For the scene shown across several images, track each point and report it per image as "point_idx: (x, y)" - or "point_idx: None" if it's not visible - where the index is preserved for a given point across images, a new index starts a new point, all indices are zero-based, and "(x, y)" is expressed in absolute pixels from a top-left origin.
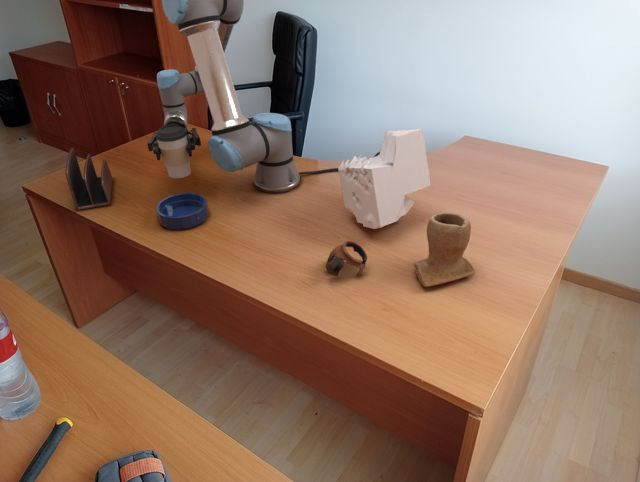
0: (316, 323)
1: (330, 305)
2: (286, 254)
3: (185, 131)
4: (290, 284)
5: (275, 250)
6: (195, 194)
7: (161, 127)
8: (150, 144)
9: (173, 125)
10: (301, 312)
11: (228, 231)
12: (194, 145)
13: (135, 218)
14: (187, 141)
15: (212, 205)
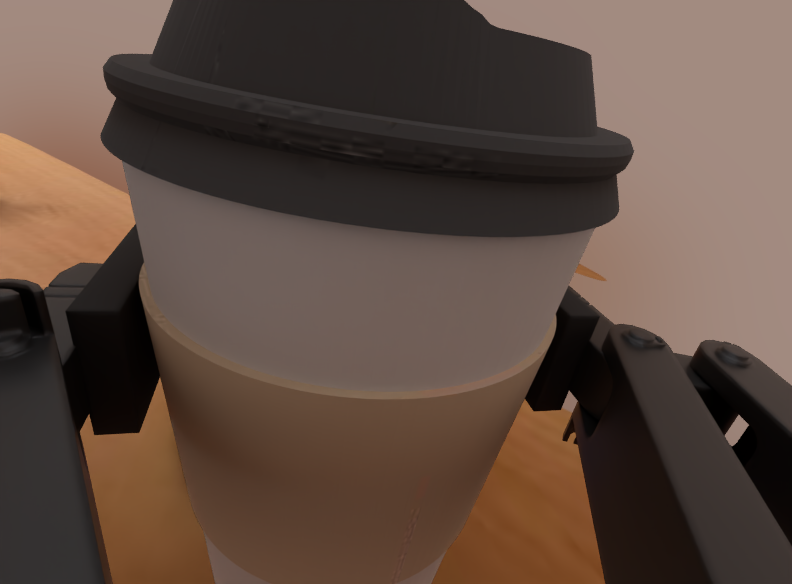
0: (95, 180)
1: (47, 187)
2: (24, 252)
3: (128, 56)
4: (83, 213)
5: (42, 264)
6: None
7: (588, 54)
8: (695, 356)
9: (361, 8)
10: (105, 189)
11: None
12: (64, 283)
13: (518, 452)
14: (143, 267)
15: (136, 511)
